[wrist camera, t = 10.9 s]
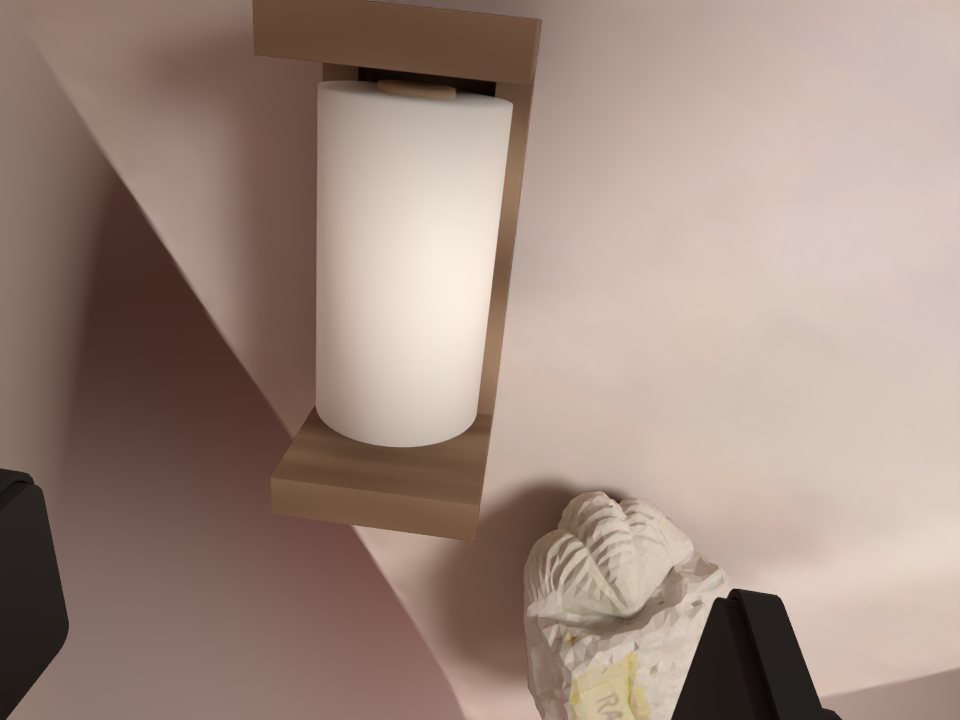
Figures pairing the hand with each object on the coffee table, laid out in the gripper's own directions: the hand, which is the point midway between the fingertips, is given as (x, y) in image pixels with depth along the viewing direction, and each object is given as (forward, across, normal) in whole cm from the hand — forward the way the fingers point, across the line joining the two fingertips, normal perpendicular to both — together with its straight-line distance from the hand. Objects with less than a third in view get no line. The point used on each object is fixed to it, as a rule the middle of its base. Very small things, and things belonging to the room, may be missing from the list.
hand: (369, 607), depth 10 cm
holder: (+21, +3, +1) cm, 21 cm away
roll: (+19, +2, +1) cm, 19 cm away
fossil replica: (+21, -8, +17) cm, 28 cm away
